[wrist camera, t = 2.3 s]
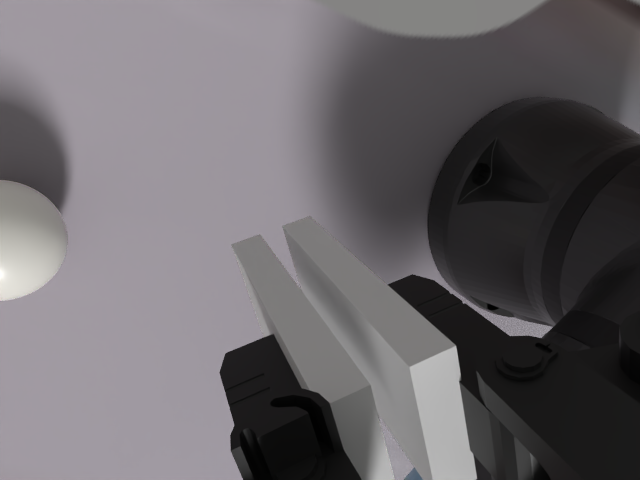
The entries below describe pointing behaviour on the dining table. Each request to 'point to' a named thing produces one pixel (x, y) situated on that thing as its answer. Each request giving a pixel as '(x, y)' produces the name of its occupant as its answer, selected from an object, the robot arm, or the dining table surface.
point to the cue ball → (28, 240)
